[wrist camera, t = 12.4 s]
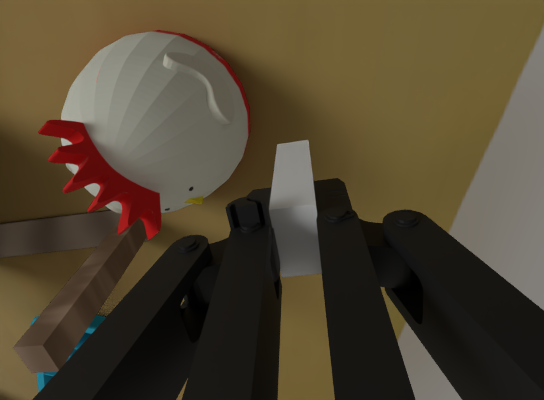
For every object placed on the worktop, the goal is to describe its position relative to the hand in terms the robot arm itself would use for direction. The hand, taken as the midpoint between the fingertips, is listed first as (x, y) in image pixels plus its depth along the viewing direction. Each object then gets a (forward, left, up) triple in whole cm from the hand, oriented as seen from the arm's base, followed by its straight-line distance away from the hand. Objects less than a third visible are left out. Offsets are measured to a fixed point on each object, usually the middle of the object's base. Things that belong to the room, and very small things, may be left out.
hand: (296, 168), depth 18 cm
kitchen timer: (+11, 0, -14) cm, 18 cm away
